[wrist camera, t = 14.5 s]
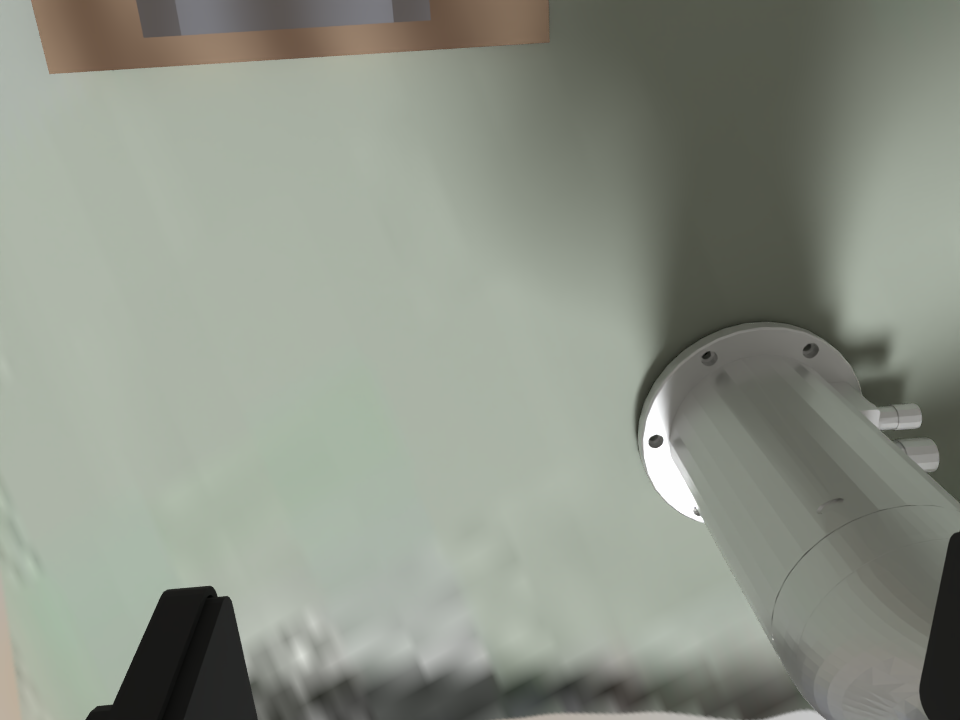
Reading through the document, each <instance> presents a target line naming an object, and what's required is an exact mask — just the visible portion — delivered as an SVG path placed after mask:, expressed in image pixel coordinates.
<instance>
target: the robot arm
mask: <svg viewBox="0 0 960 720" xmlns="http://www.w3.org/2000/svg"><path fill="white" fill-rule="evenodd" d="M806 345H807V346H806ZM805 346H806V347H805ZM804 347H805V348H804ZM705 352H708V354H707V355H705V356H702V355H703V354H704V353H705ZM921 423H922V414H921V410H920V408H919V407H918V405H917V404H915V403H906V404H894V405H889V406H884V407H876V406H875V405H874V404H873V403H870V402H869V401H868V400H867V399H866V398H864V397H863V395H862V391H861V387H860V383H859V381H858V379H857V377H856V375H855V373H854V371H853V369H852V367H851V365H850V364H849V363H848V362H847V360H846V359H845V358H844V357H843V356H842V355H841V353H840V352H839V351H838V350H837V349H835V348H834V347H833V346H832V345H830V344H829V343H828V342H827V341H826V340H824V339H822V338H821V337H819V336H817V335H815V334H814V333H812V332H810V331H808V330H806V329H803V328H800V327H797V326H793V325H790V324H785V323H776V322H755V323H744V324H740V325H736V326H732V327H729V328H725V329H722V330H720V331H717V332H715V333H713V334H711V335H708V336H706V337H704V338H702V339H700V340H699V341H697V342H696V343H694V344H693V345H691V346H690V347H688V348H687V349H685V350H684V351H683V352H681V353H680V354H679V355H678V356H677V357H676V358H675V359H674V360H673V361H672V362H671V363H670V364H669V365H667V367H666V368H665V369H664V371H663V372H662V373H661V375H660V376H659V377H658V378H657V380H656V381H655V382H654V384H653V386H652V388H651V390H650V392H649V394H648V396H647V398H646V400H645V402H644V405H643V409H642V412H641V416H640V419H639V429H638V445H639V453H640V458H641V461H642V464H643V466H644V469H645V471H646V474H647V476H648V478H649V480H650V481H651V483H652V485H653V487H654V489H655V490H656V491H657V492H658V494H659V495H660V496H661V497H662V498H663V499H664V501H665V502H666V503H667V504H669V505H670V506H671V507H673V508H674V509H675V510H677V511H678V512H679V513H681V514H683V515H685V516H687V517H689V518H691V519H693V520H695V521H698V522H702V523H705V525H706V527H707V528H708V530H709V532H710V534H711V536H712V537H713V539H714V541H715V543H716V545H717V546H718V548H719V550H720V552H721V554H722V556H723V557H724V559H725V561H726V563H727V565H728V566H729V568H730V570H731V572H732V574H733V575H734V577H735V579H736V581H737V583H738V584H739V586H740V588H741V590H742V592H743V594H744V595H745V597H746V599H747V601H748V603H749V604H750V606H751V608H752V610H753V612H754V613H755V615H756V617H757V619H758V621H759V622H760V624H761V626H762V628H763V630H764V632H765V633H766V635H767V637H768V639H769V641H770V642H771V644H772V646H773V648H774V650H775V651H776V653H777V655H778V657H779V658H780V660H781V662H782V663H783V665H784V667H785V669H786V671H787V672H788V674H789V676H790V678H791V679H792V681H793V683H794V684H795V686H796V687H797V688H798V690H799V691H800V693H801V694H802V696H803V697H804V698H805V699H806V700H807V702H808V703H809V704H810V705H811V706H812V707H813V708H814V709H815V710H816V711H817V712H818V713H819V714H820V715H821V716H822V717H824V718H825V719H826V720H960V503H959V502H958V501H957V500H956V499H955V498H954V497H953V496H951V495H950V494H949V493H948V492H947V491H946V490H945V489H944V488H943V487H942V486H940V485H939V484H938V483H937V482H936V481H935V480H934V479H933V478H932V477H931V476H930V475H928V474H927V472H934V471H935V470H936V469H937V468H938V465H939V452H938V449H937V446H936V444H935V443H934V441H933V440H932V439H930V438H928V437H923V438H911V439H898V440H894V441H891V440H890V439H889V438H888V437H887V436H886V435H885V434H884V433H883V432H882V431H880V430H889V429H892V430H904V429H916V428H918V427H920V425H921ZM652 435H654V436H653V437H651V436H652ZM86 720H258V719H257V714H256V709H255V705H254V700H253V696H252V691H251V687H250V682H249V677H248V673H247V668H246V664H245V659H244V655H243V650H242V645H241V641H240V636H239V632H238V627H237V623H236V618H235V613H234V609H233V605H232V601H231V599H230V597H228V596H223V597H217V594H216V591H215V589H214V588H213V587H212V586H203V587H192V588H180V589H169V590H166V591H164V592H163V594H162V596H161V597H160V599H159V602H158V604H157V606H156V608H155V611H154V613H153V615H152V617H151V620H150V622H149V624H148V626H147V629H146V631H145V633H144V635H143V638H142V640H141V642H140V644H139V647H138V649H137V651H136V653H135V656H134V658H133V660H132V662H131V665H130V667H129V669H128V671H127V674H126V676H125V678H124V681H123V683H122V685H121V687H120V690H119V692H118V694H117V696H116V699H115V701H114V703H113V705H104V706H97V707H96V708H95V709H93V710H92V711H91V712H90V713H89V715H88V717H87V718H86Z"/></svg>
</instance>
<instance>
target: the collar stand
mask: <svg viewBox="0 0 960 720" xmlns="http://www.w3.org/2000/svg"><path fill="white" fill-rule="evenodd" d="M31 2H32V6H33V10H34V14H35V18H36V22H37V26H38V30H39V34H40V38H41V42H42V46H43V50H44V54H45V58H46V62H47V66H48V70H49V74H56V73H72V72H88V71H103V70H119V69H135V68H151V67H167V66H183V65H199V64H215V63H231V62H247V61H262V60H278V59H294V58H310V57H326V56H342V55H358V54H374V53H390V52H406V51H421V50H437V49H453V48H469V47H485V46H501V45H517V44H533V43H549V42H550V39H549V0H31Z"/></svg>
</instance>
